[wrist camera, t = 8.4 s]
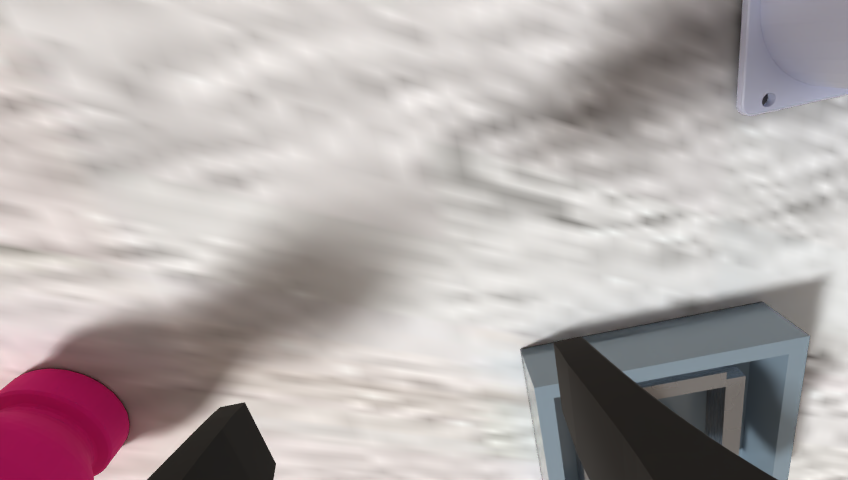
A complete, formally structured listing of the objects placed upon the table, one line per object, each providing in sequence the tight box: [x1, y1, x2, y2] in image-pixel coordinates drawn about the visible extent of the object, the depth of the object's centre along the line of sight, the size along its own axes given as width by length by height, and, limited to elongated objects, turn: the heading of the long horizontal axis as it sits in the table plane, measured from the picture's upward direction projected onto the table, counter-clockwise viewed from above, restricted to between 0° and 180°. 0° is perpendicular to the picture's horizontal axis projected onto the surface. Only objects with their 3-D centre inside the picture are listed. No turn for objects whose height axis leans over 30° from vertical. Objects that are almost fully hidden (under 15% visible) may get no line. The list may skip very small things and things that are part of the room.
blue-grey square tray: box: [520, 302, 810, 480], centre depth 23 cm, size 12×12×3 cm
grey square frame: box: [575, 365, 746, 480], centre depth 23 cm, size 8×8×1 cm
